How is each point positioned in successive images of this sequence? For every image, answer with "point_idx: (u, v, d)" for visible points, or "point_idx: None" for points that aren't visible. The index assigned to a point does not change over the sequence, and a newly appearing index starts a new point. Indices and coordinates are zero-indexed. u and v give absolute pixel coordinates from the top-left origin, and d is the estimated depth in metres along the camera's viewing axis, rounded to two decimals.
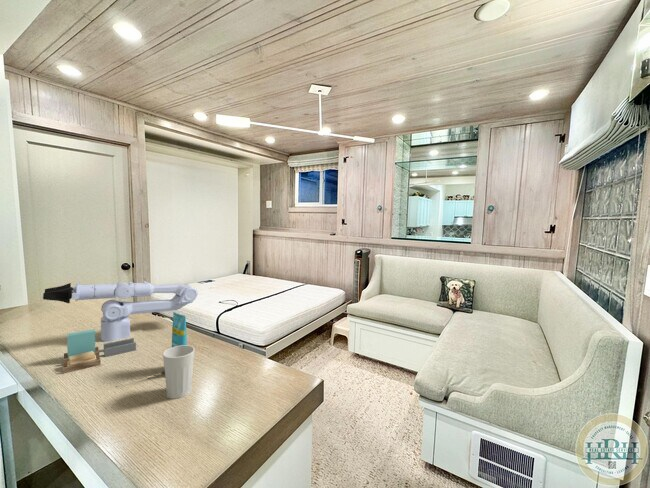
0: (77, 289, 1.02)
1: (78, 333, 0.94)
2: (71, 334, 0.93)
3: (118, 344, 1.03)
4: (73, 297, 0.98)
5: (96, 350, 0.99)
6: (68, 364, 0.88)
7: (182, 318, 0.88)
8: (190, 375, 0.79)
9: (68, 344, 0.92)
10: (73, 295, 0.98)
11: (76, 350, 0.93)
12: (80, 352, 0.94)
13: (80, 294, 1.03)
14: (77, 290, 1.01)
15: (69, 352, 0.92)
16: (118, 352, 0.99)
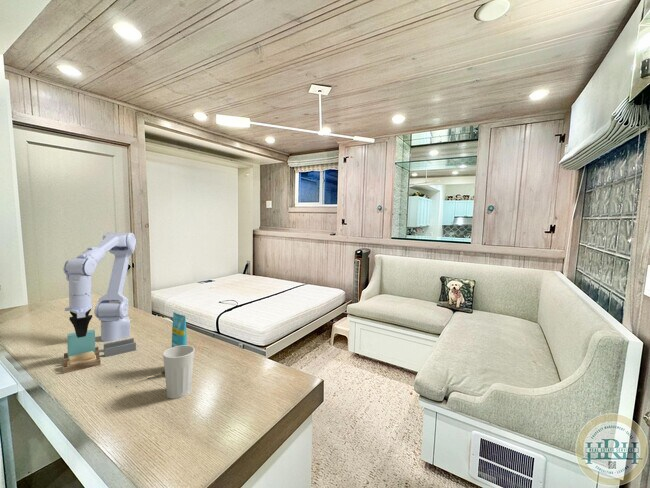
0: (73, 311, 0.90)
1: None
2: (71, 334, 0.93)
3: (118, 344, 1.03)
4: (82, 316, 0.89)
5: (96, 350, 0.99)
6: (68, 364, 0.88)
7: (182, 318, 0.88)
8: (190, 375, 0.79)
9: (68, 344, 0.92)
10: (79, 316, 0.88)
11: (76, 350, 0.93)
12: (80, 352, 0.94)
13: (81, 306, 0.92)
14: (74, 312, 0.90)
15: (69, 352, 0.92)
16: (118, 352, 0.99)
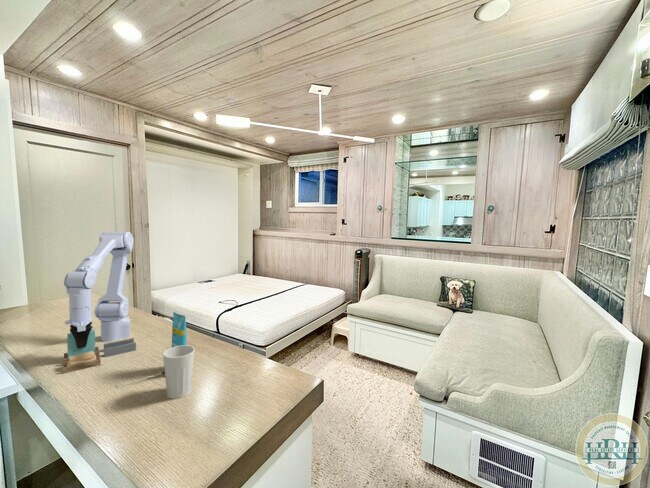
0: (73, 325, 0.90)
1: None
2: (71, 334, 0.93)
3: (118, 344, 1.03)
4: (83, 329, 0.89)
5: (96, 350, 0.99)
6: (68, 364, 0.88)
7: (182, 318, 0.88)
8: (190, 375, 0.79)
9: (68, 344, 0.92)
10: (80, 330, 0.89)
11: (76, 350, 0.93)
12: (80, 352, 0.94)
13: (82, 320, 0.92)
14: (74, 325, 0.90)
15: (69, 352, 0.92)
16: (118, 352, 0.99)
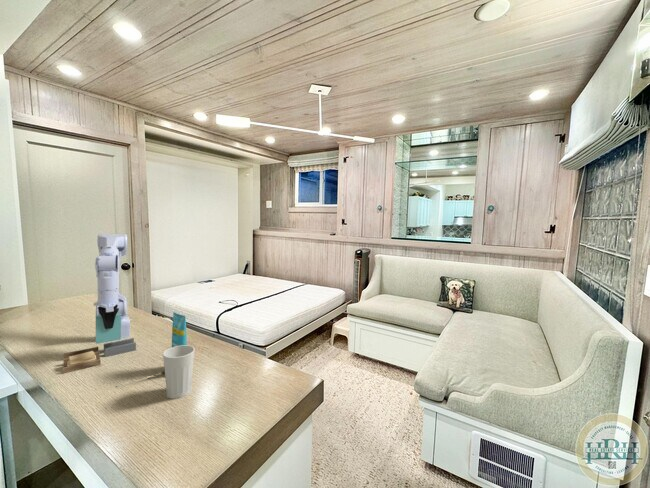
0: (102, 306, 0.95)
1: None
2: (99, 316, 0.97)
3: (118, 344, 1.03)
4: (111, 310, 0.94)
5: (96, 350, 0.99)
6: (68, 364, 0.88)
7: (182, 318, 0.88)
8: (190, 375, 0.79)
9: (96, 326, 0.96)
10: (108, 310, 0.93)
11: (103, 332, 0.97)
12: (107, 334, 0.98)
13: (109, 301, 0.97)
14: (103, 306, 0.94)
15: (97, 333, 0.96)
16: (118, 352, 0.99)
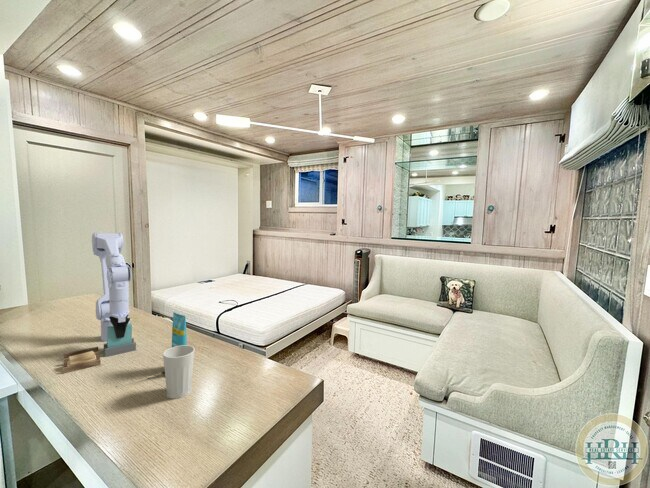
0: (114, 316, 0.97)
1: None
2: (111, 327, 1.00)
3: None
4: (123, 320, 0.96)
5: (96, 350, 0.99)
6: (68, 364, 0.88)
7: (182, 318, 0.88)
8: (190, 375, 0.79)
9: (108, 336, 0.99)
10: (120, 321, 0.96)
11: (115, 342, 1.00)
12: (119, 344, 1.01)
13: (121, 312, 0.99)
14: (115, 316, 0.97)
15: (109, 344, 0.99)
16: (118, 352, 0.99)
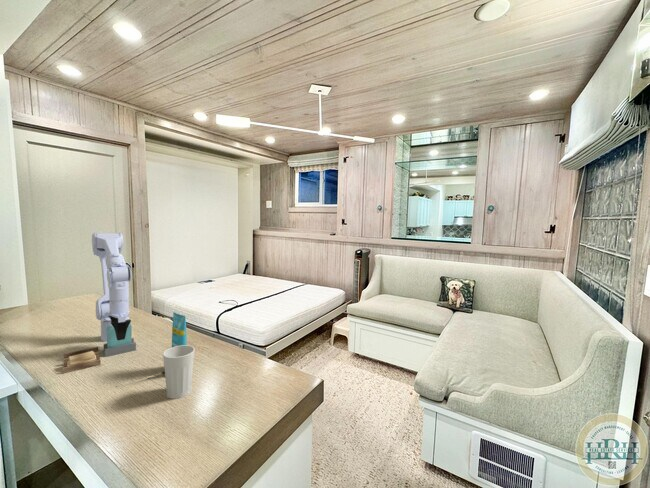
0: (114, 316, 0.97)
1: None
2: (110, 327, 1.00)
3: None
4: (123, 320, 0.96)
5: (96, 350, 0.99)
6: (68, 364, 0.88)
7: (182, 318, 0.88)
8: (190, 375, 0.79)
9: (108, 336, 0.99)
10: (120, 321, 0.96)
11: (115, 342, 1.00)
12: (119, 344, 1.01)
13: (121, 311, 0.99)
14: (115, 316, 0.97)
15: (109, 344, 0.99)
16: (118, 352, 0.99)
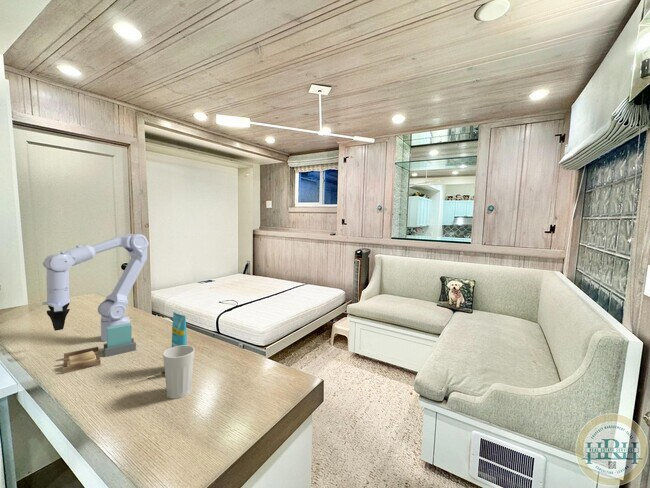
0: (50, 305, 0.94)
1: (116, 326, 1.01)
2: (110, 327, 1.00)
3: None
4: (59, 309, 0.93)
5: (96, 350, 0.99)
6: (68, 364, 0.88)
7: (182, 318, 0.88)
8: (190, 375, 0.79)
9: (108, 336, 0.99)
10: (56, 310, 0.92)
11: (115, 342, 1.00)
12: (119, 344, 1.01)
13: (59, 301, 0.96)
14: (51, 305, 0.93)
15: (109, 344, 0.99)
16: (118, 352, 0.99)
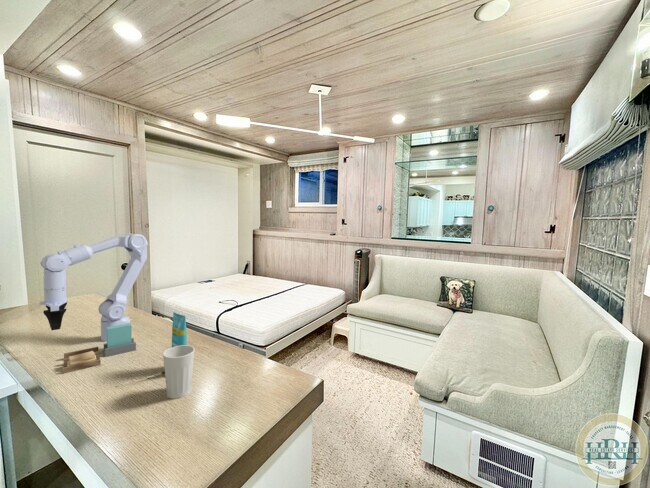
0: (47, 305, 0.94)
1: (116, 326, 1.01)
2: (110, 327, 1.00)
3: None
4: (56, 309, 0.93)
5: (96, 350, 0.99)
6: (68, 364, 0.88)
7: (182, 318, 0.88)
8: (190, 375, 0.79)
9: (108, 336, 0.99)
10: (53, 310, 0.92)
11: (115, 342, 1.00)
12: (119, 344, 1.01)
13: (56, 300, 0.96)
14: (48, 305, 0.93)
15: (109, 344, 0.99)
16: (118, 352, 0.99)
